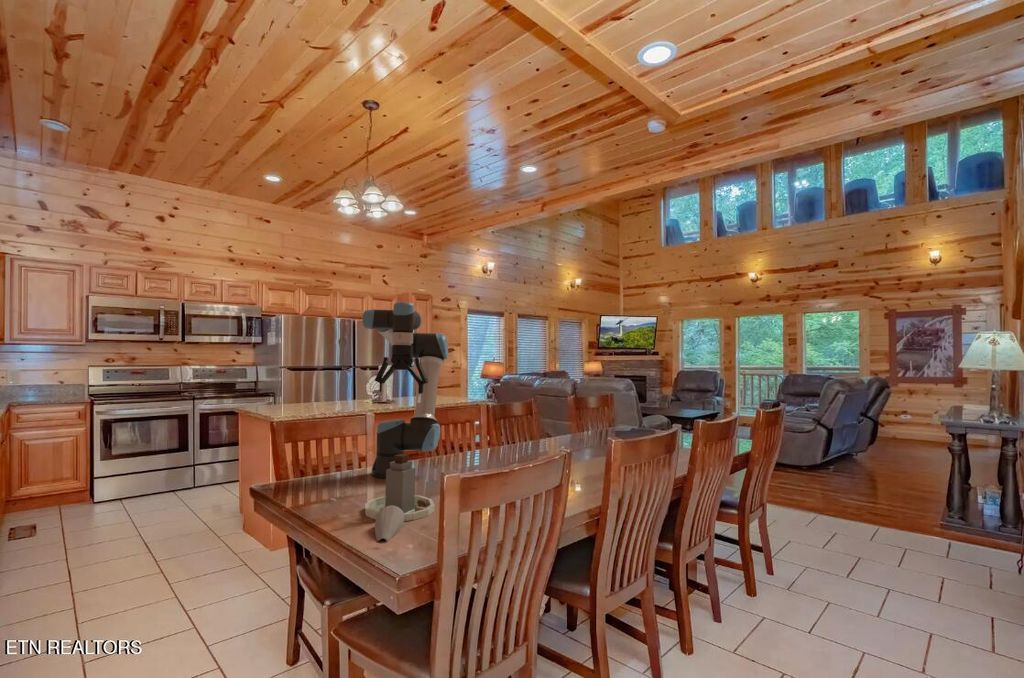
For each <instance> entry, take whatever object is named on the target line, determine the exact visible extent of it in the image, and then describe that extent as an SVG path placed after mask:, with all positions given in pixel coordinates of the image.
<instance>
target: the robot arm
mask: <svg viewBox="0 0 1024 678" xmlns="http://www.w3.org/2000/svg"><path fill="white" fill-rule="evenodd" d="M361 321H362V325H363V327H364V329H368V330H369V329H370V330H376V331H377V332H378V333H379V334H380V335H381V336H382V337H383V338H384V339H385V340H386V341H387V342H388V343H389V345H390V347H391V357H389V356H384V357H383V359H382V360H383V361H382V364H381V366H380V368H379V370H378V372H377V374H376V377H375V378H374V382H377V383H379V393H381V400H380V401H381V402H387V396H388V395H387V394H388V391H387V390H388V383H387V380H388V379H390V377H391V376H392V374H393V373H395V371H396V370H401V371H402V370H404V371H405V370H407V371H408V372H409V374H410V375H411V377H413V379H414V381H416V383H417V384H416V385H415V386H416V387H415V409H414V415H413V416H411V418H410V420H409V421H410V422H406V421H405V419H403V418H402V419H401V418H398V419H389V420H384V421H380V422H378V424H377V426H376V427H377V428H376V446H375V447H376V450H375V452H376V454H375V459H374V462H373V464H372V468H371V476H372V477H373V478H378V479H379V478H380V479H386V470H387V469H390V468H391V467H390V462H394V461H395V458H394V456H395V455H398V454H405V451H409V452H411V451H412V452H413V451H414V452H423V453H424V452H432V451H434V450H436V448H437V446H438V444H439V440H440V437H441V426H440V424H439V423H438V419H437V418H436V417H435V414H436V405H437V394H438V385H439V377H440V367H441V366H442V365H443V364H444V362H445V360H447V359H448V358H449V345H448V343H449V342H448V340H447V339H448V338H447V337H446V334H444V333H437V332H436V333H432V332H431V333H427V332H426V333H425V332H424V333H423V332H414V331H416V330H417V329H419V328H420V327H421V326H422V324H423V318H422V315H421V314H420V313H419V312H418V311H416V310H415V305H414V303H412V302H402V301H401V302H395V303H394V304H393V309H375V308H373V309H366V310H365V311H363V314H362V320H361ZM390 363H391V366H390V367H389V368H388V366H389V364H390ZM413 363H414V364H415V367H416V369H415V368H414V366H413ZM387 369H388V370H387ZM386 370H387V371H386ZM416 370H417V371H418V372H417V371H416ZM418 373H419V374H418Z"/></svg>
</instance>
